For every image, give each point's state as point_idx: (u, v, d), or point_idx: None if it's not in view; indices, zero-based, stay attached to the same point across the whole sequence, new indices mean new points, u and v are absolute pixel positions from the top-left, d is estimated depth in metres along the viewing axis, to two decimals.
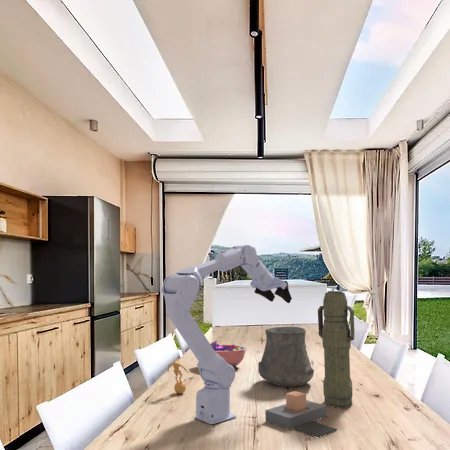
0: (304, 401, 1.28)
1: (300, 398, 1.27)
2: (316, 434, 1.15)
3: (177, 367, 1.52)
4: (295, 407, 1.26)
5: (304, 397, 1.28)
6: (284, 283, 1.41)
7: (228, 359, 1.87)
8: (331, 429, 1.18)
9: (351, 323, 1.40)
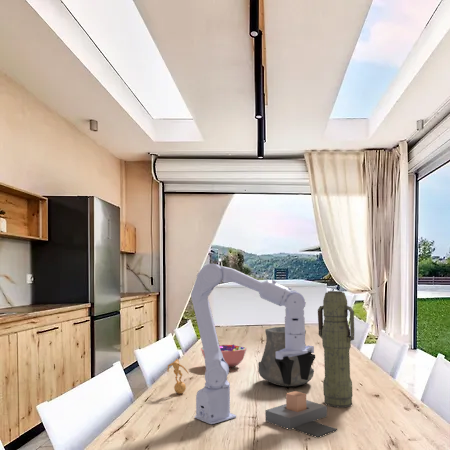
0: (304, 401, 1.28)
1: (300, 398, 1.27)
2: (316, 434, 1.15)
3: (177, 367, 1.52)
4: (295, 407, 1.26)
5: (304, 397, 1.28)
6: (278, 354, 1.25)
7: (228, 359, 1.87)
8: (331, 429, 1.18)
9: (351, 323, 1.40)
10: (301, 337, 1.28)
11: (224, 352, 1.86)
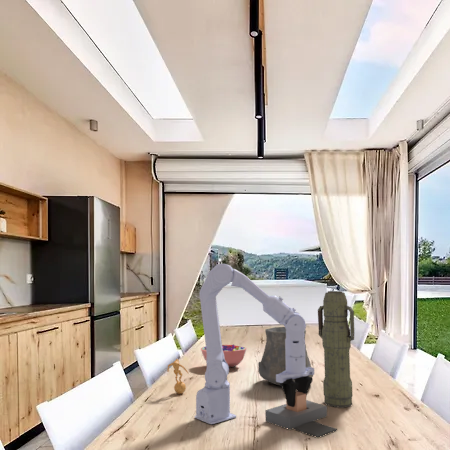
0: (304, 401, 1.28)
1: (300, 397, 1.27)
2: (316, 434, 1.15)
3: (177, 367, 1.52)
4: (295, 407, 1.26)
5: (304, 397, 1.28)
6: (278, 377, 1.24)
7: (228, 359, 1.87)
8: (331, 429, 1.18)
9: (351, 323, 1.40)
10: (302, 360, 1.27)
11: (224, 352, 1.86)
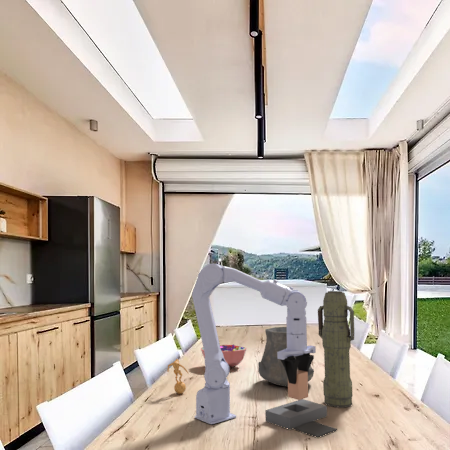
0: (305, 379, 1.27)
1: (302, 375, 1.26)
2: (316, 434, 1.15)
3: (177, 367, 1.52)
4: (296, 384, 1.26)
5: (305, 375, 1.27)
6: (280, 354, 1.24)
7: (228, 359, 1.87)
8: (331, 429, 1.18)
9: (351, 323, 1.40)
10: (303, 337, 1.27)
11: (224, 352, 1.86)
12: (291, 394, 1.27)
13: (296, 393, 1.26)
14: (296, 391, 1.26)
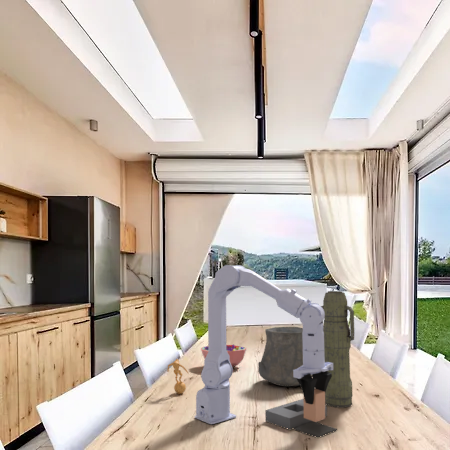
0: (323, 399, 1.19)
1: (319, 396, 1.18)
2: (316, 434, 1.15)
3: (177, 367, 1.52)
4: (313, 405, 1.18)
5: (323, 395, 1.19)
6: (296, 372, 1.16)
7: None
8: (331, 429, 1.18)
9: (351, 323, 1.40)
10: (320, 354, 1.19)
11: None
12: (307, 415, 1.19)
13: (312, 415, 1.18)
14: (313, 412, 1.18)
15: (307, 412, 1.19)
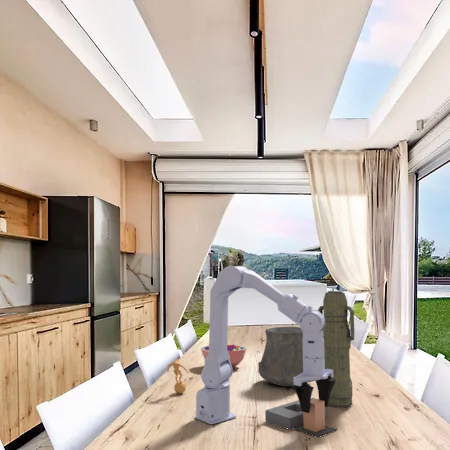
0: (322, 409, 1.19)
1: (318, 405, 1.18)
2: (316, 434, 1.15)
3: (177, 367, 1.52)
4: (313, 415, 1.17)
5: (322, 404, 1.19)
6: (296, 380, 1.16)
7: None
8: (331, 429, 1.18)
9: (351, 323, 1.40)
10: (321, 361, 1.18)
11: None
12: (307, 425, 1.19)
13: (312, 424, 1.17)
14: (312, 422, 1.17)
15: (307, 422, 1.19)
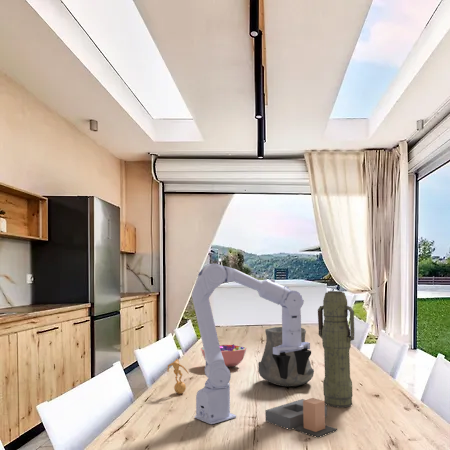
0: (322, 409, 1.19)
1: (318, 405, 1.18)
2: (316, 434, 1.15)
3: (177, 367, 1.52)
4: (313, 415, 1.17)
5: (322, 404, 1.19)
6: (275, 349, 1.31)
7: (228, 359, 1.87)
8: (331, 429, 1.18)
9: (351, 323, 1.40)
10: (297, 334, 1.33)
11: (224, 352, 1.86)
12: (307, 425, 1.19)
13: (312, 424, 1.17)
14: (312, 422, 1.17)
15: (307, 422, 1.19)
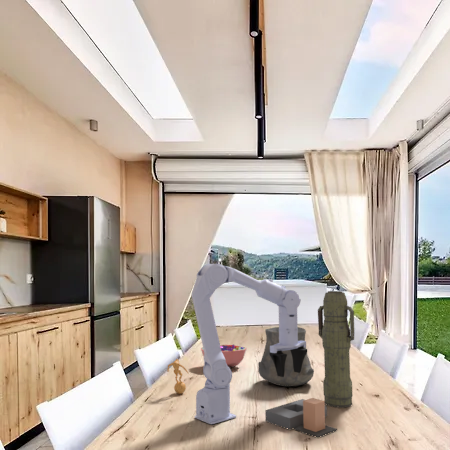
0: (322, 409, 1.19)
1: (318, 405, 1.18)
2: (316, 434, 1.15)
3: (177, 367, 1.52)
4: (313, 415, 1.17)
5: (322, 404, 1.19)
6: (272, 348, 1.33)
7: (228, 359, 1.87)
8: (331, 429, 1.18)
9: (351, 323, 1.40)
10: (294, 332, 1.36)
11: (224, 352, 1.86)
12: (307, 425, 1.19)
13: (312, 424, 1.17)
14: (312, 422, 1.17)
15: (307, 422, 1.19)
